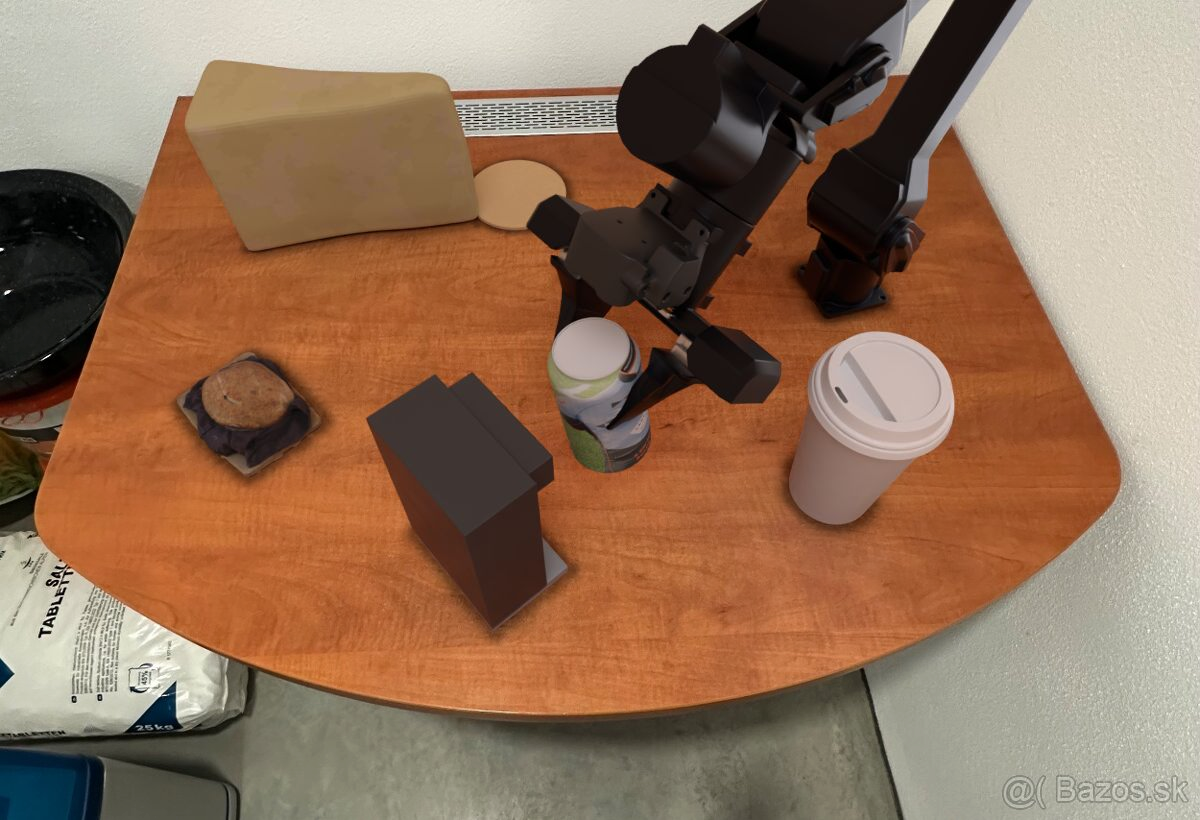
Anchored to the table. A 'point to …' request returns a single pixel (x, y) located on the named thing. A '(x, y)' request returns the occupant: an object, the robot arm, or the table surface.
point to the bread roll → (248, 413)
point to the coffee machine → (471, 491)
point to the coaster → (514, 192)
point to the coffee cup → (867, 422)
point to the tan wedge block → (330, 151)
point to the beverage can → (598, 393)
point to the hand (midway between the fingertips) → (579, 400)
